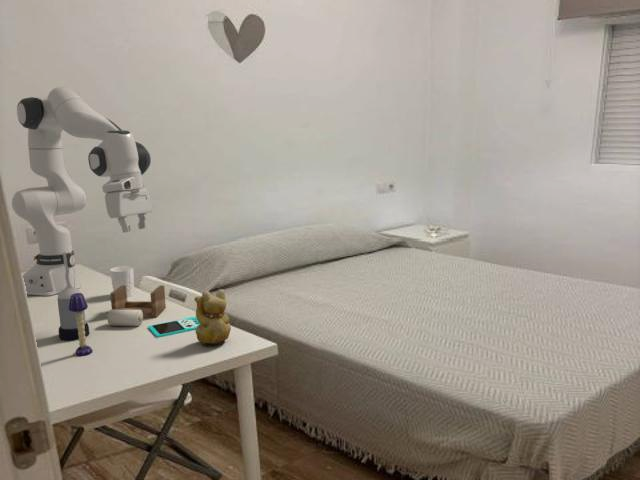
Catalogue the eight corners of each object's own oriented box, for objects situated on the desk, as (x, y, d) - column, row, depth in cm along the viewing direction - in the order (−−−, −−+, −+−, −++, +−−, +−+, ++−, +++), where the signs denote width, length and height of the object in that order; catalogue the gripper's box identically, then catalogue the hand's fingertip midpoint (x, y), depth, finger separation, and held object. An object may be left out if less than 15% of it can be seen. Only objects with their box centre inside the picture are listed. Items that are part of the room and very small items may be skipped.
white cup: (120, 300, 195) (118, 272, 193) (108, 296, 200) (105, 269, 198) (140, 294, 201) (137, 268, 199) (127, 290, 206) (125, 264, 204)
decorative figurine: (226, 334, 161) (224, 285, 158) (236, 344, 154) (233, 292, 151) (193, 341, 156) (190, 290, 153) (202, 351, 149) (199, 298, 146)
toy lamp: (93, 354, 148) (87, 295, 145) (74, 358, 146) (68, 297, 142) (91, 348, 152) (85, 290, 149) (72, 352, 150) (66, 293, 147)
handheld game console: (210, 328, 168) (209, 324, 167) (157, 339, 159) (156, 335, 159) (198, 319, 176) (198, 315, 176) (147, 329, 168) (147, 325, 167)
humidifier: (60, 333, 164) (50, 251, 159) (89, 329, 167) (81, 248, 162) (57, 342, 157) (47, 257, 152) (89, 338, 160) (80, 254, 155)
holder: (112, 317, 177) (110, 293, 175) (123, 308, 186) (121, 285, 184) (156, 317, 176) (154, 293, 175) (165, 308, 185) (164, 285, 183)
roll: (108, 328, 168) (105, 313, 167) (114, 321, 173) (112, 306, 171) (138, 328, 168) (136, 314, 166) (144, 321, 172) (142, 306, 171)
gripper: (135, 184, 175) (142, 227, 177) (98, 186, 155) (106, 235, 157) (153, 182, 174) (160, 225, 175) (118, 184, 154) (127, 233, 155)
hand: (134, 230), depth 166 cm, fingers open, 8 cm apart
